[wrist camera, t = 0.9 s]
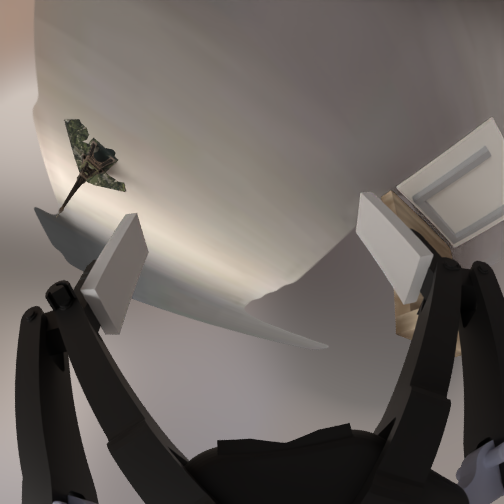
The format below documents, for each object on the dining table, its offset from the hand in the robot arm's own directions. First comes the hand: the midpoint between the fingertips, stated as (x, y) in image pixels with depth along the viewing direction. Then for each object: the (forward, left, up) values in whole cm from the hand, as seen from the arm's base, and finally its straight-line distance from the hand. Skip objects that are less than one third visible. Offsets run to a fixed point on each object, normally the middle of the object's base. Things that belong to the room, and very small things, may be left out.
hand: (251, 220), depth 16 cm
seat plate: (-8, +30, -19) cm, 37 cm away
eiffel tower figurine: (+24, -19, -20) cm, 37 cm away
